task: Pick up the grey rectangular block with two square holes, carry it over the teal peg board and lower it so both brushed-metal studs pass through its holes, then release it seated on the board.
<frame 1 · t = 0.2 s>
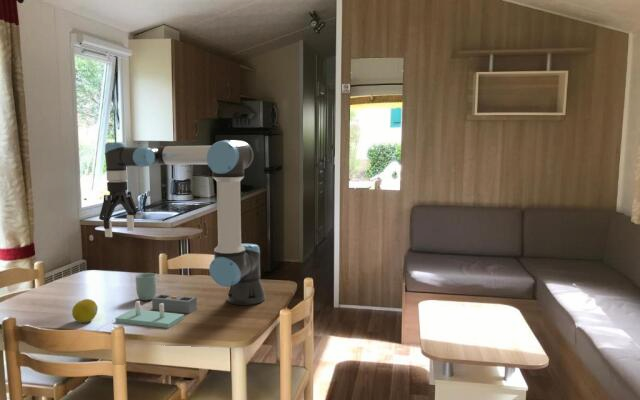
hand: (120, 233, 209), 28 cm above the table, fingers open, 13 cm apart
lemon: (86, 321, 188), on the table
cup: (147, 299, 213), on the table
pegboard: (150, 320, 188), on the table
grey rectangular block: (174, 309, 200), on the table
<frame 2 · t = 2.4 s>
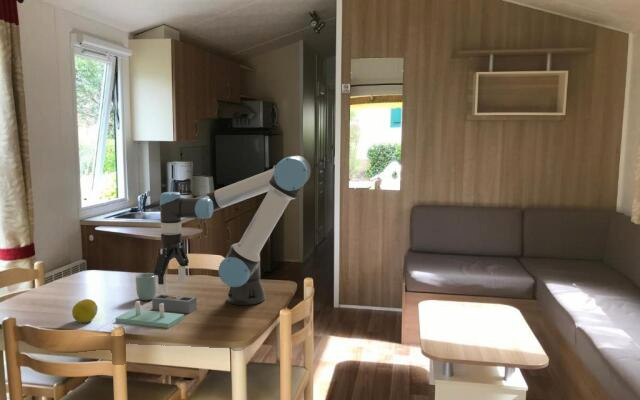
hand: (172, 287, 199), 9 cm above the table, fingers open, 13 cm apart
nothing on the table moved.
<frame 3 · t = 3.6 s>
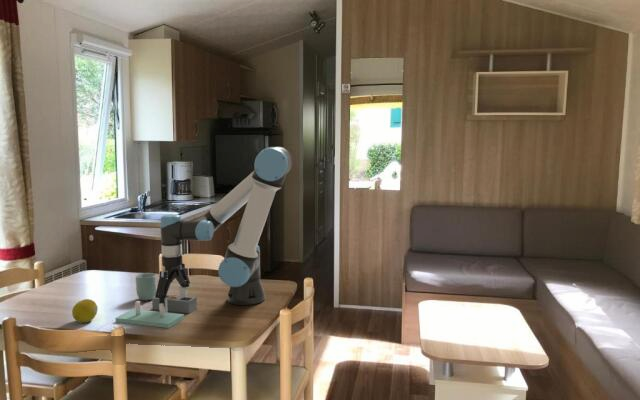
hand: (174, 308, 200), 0 cm above the table, fingers open, 13 cm apart
nothing on the table moved.
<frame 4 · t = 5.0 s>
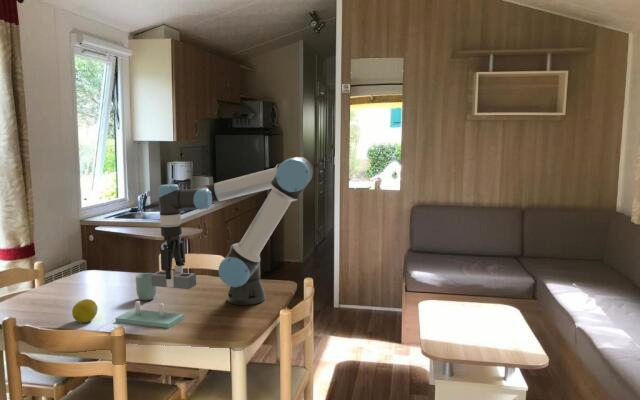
hand: (174, 284, 199), 10 cm above the table, fingers closed on grey rectangular block, 5 cm apart
grey rectangular block: (174, 285, 199), point 9 cm above the table, touching gripper
everything else where it was.
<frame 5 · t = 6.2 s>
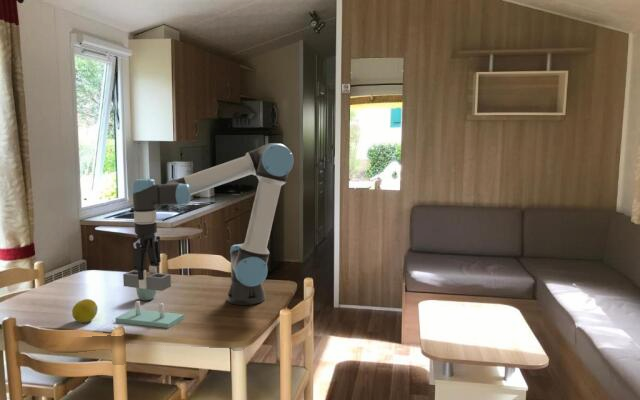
hand: (148, 285, 187), 13 cm above the table, fingers closed on grey rectangular block, 5 cm apart
grey rectangular block: (147, 286, 187), point 13 cm above the table, touching gripper
everything else where it was.
when the fingers open (2 cm above the table, at t = 7.9 s): grey rectangular block stays where it is, resting on pegboard.
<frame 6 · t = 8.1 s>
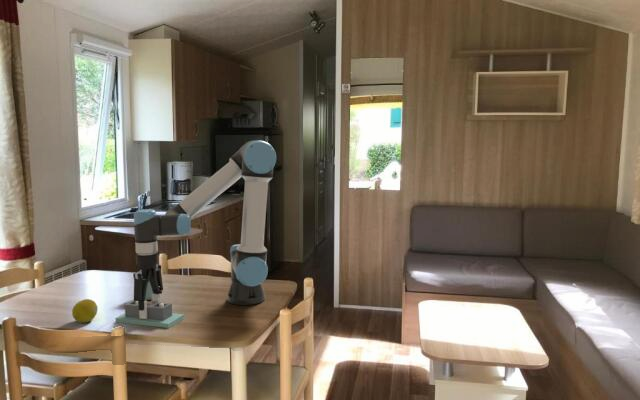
hand: (149, 314, 188), 2 cm above the table, fingers open, 7 cm apart
grey rectangular block: (148, 316, 188), point 1 cm above the table, touching pegboard
everything else where it was.
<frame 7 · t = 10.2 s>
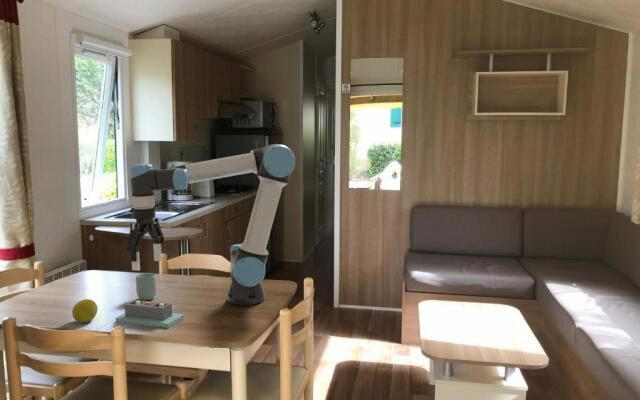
hand: (147, 265, 188), 20 cm above the table, fingers open, 13 cm apart
nothing on the table moved.
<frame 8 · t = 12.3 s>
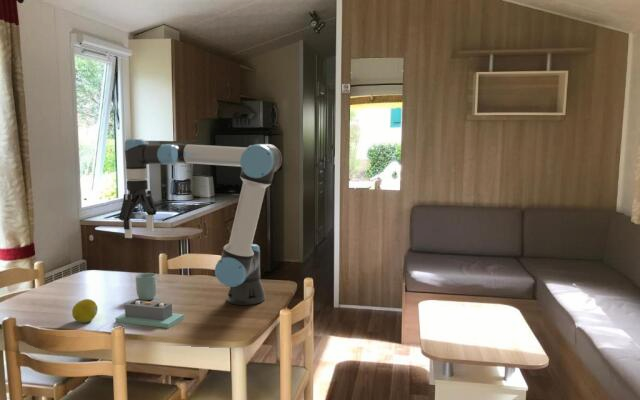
hand: (139, 234, 201), 29 cm above the table, fingers open, 13 cm apart
nothing on the table moved.
at the end: grey rectangular block 0.5 cm off-centre on the pegboard, point 1.5 cm above the pegboard's base; grey rectangular block tilted 0°; the gripper is holding nothing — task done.
